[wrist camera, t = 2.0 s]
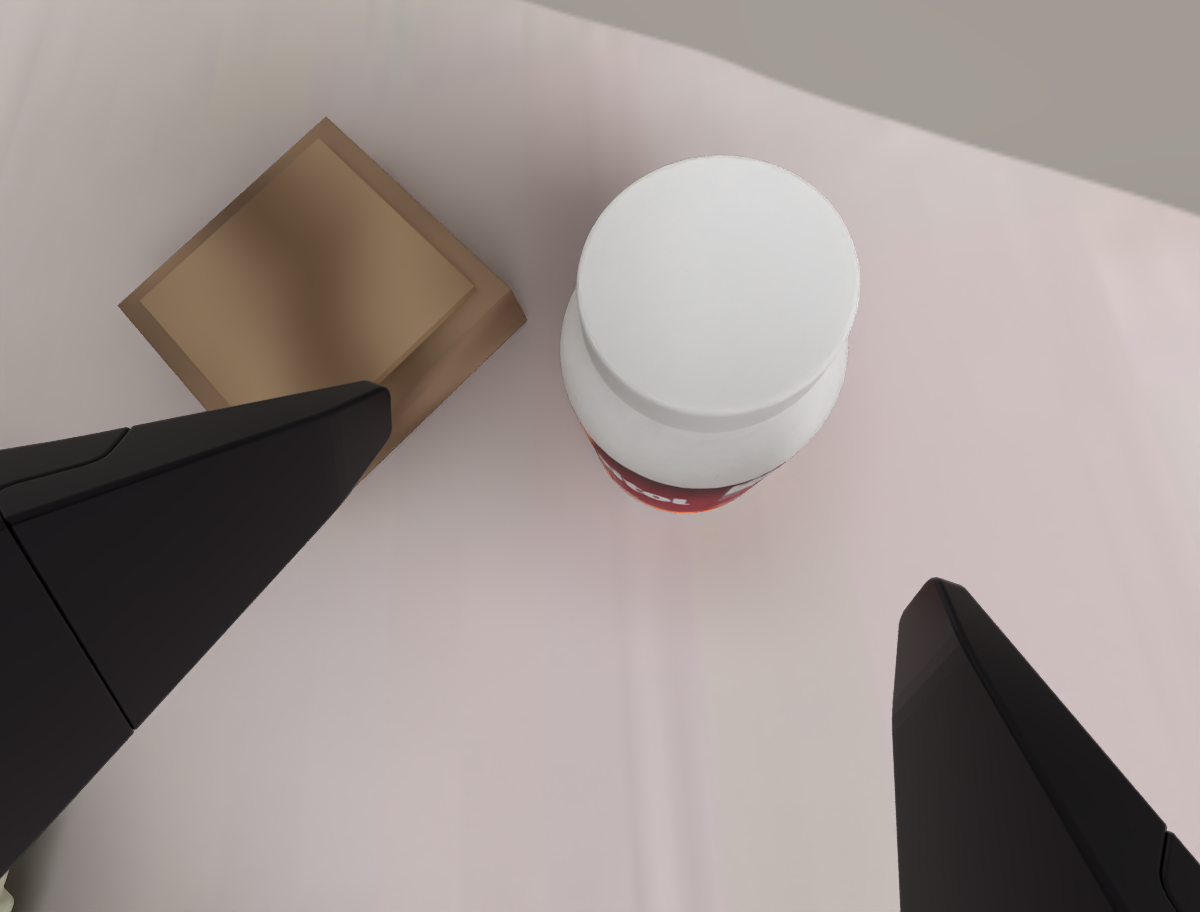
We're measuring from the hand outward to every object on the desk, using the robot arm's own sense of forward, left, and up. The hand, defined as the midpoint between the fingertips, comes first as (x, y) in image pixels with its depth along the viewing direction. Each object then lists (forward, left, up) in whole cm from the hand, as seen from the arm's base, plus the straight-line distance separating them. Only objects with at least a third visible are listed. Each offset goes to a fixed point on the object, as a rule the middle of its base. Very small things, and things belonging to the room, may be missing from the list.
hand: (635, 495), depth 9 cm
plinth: (-2, +14, -11) cm, 18 cm away
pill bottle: (+4, +2, -11) cm, 12 cm away
